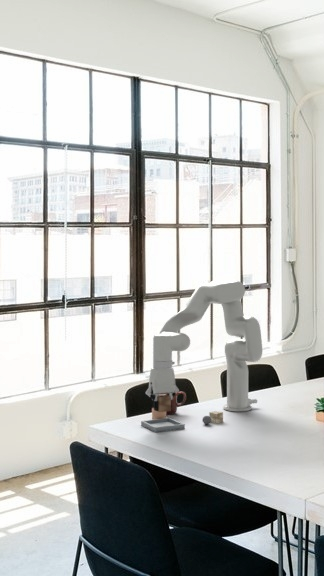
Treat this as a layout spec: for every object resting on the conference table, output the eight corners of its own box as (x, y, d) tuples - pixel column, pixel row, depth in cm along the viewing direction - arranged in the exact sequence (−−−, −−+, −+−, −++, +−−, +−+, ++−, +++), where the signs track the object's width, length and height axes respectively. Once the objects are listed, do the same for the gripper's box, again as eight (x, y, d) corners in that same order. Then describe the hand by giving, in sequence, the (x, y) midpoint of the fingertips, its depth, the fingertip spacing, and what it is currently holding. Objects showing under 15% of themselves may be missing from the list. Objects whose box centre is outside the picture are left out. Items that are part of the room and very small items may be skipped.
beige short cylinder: (162, 418, 305) (162, 406, 305) (168, 421, 300) (168, 409, 300) (149, 419, 303) (149, 408, 302) (156, 422, 297) (156, 410, 297)
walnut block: (165, 408, 293) (165, 393, 292) (170, 410, 288) (170, 396, 288) (154, 409, 290) (154, 395, 290) (159, 412, 286) (159, 397, 286)
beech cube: (216, 420, 302) (216, 410, 301) (223, 421, 299) (223, 412, 299) (209, 421, 299) (209, 412, 299) (216, 423, 296) (216, 413, 296)
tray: (169, 421, 298) (169, 417, 298) (184, 428, 287) (184, 424, 287) (141, 425, 292) (141, 420, 292) (155, 432, 281) (155, 427, 281)
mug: (157, 415, 311) (157, 391, 310) (159, 410, 319) (159, 387, 319) (185, 415, 309) (185, 392, 309) (186, 411, 318) (186, 388, 318)
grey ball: (208, 423, 296) (208, 414, 296) (212, 424, 293) (212, 416, 293) (200, 423, 295) (200, 415, 294) (205, 425, 291) (205, 417, 291)
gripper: (176, 362, 296) (176, 406, 296) (139, 364, 288) (139, 409, 289) (185, 364, 289) (185, 409, 290) (147, 367, 281) (147, 413, 282)
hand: (162, 409), depth 289 cm, fingers closed on walnut block, 5 cm apart
